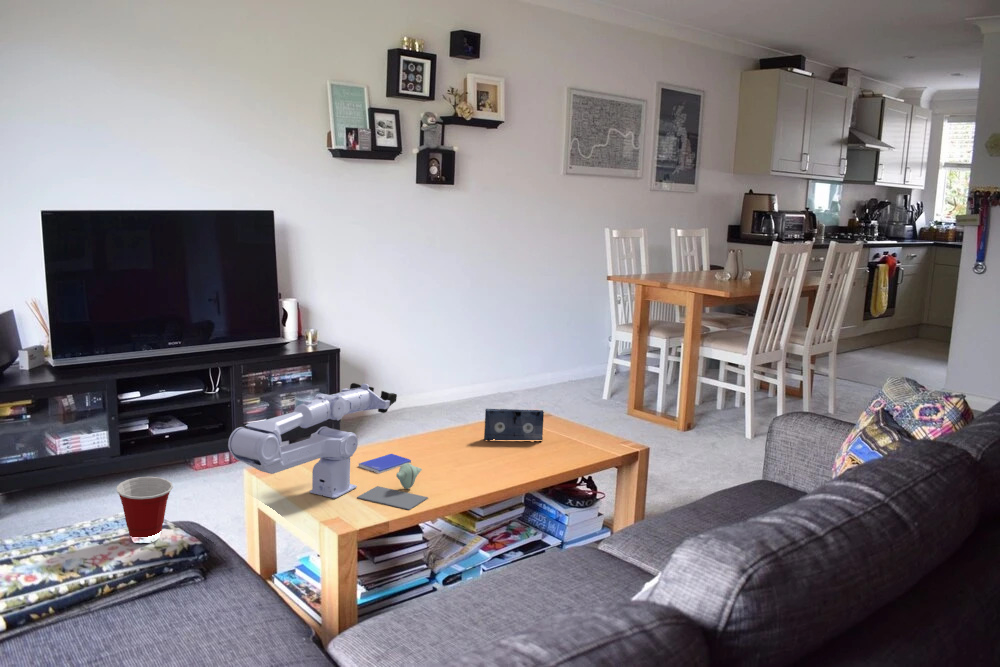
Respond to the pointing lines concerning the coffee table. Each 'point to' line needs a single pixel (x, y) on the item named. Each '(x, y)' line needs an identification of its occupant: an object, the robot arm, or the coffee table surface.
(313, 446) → the robot arm
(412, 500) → the mat
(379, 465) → the hard drive
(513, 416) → the vhs cassette tape
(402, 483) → the grey-green rounded piece
